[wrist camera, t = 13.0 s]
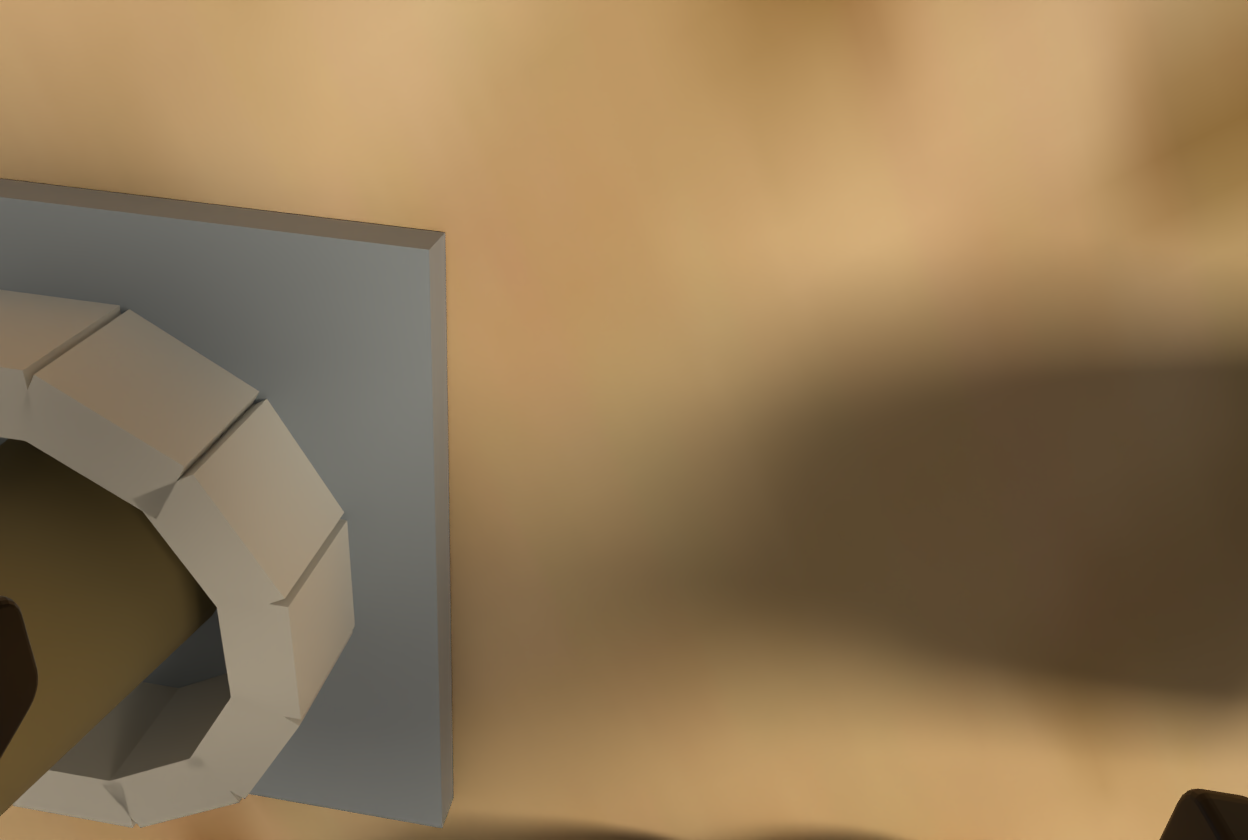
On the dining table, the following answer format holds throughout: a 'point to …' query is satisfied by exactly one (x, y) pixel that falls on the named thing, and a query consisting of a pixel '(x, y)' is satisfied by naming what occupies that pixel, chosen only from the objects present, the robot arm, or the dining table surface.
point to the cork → (82, 603)
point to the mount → (250, 490)
